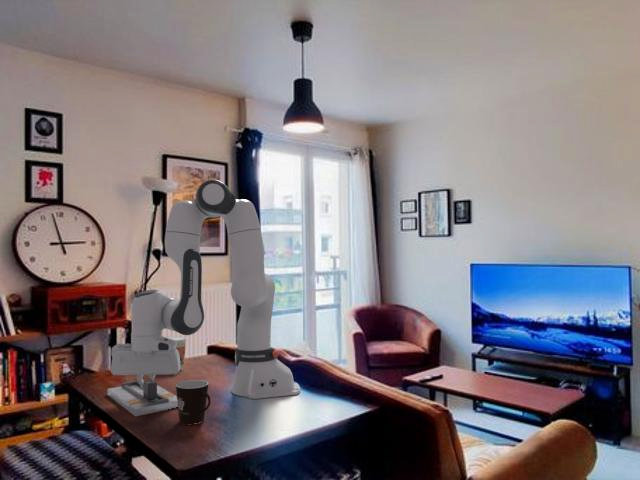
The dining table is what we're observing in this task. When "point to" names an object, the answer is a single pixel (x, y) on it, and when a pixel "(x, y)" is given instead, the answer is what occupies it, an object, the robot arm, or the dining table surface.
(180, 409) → the coffee mug
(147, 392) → the fader knob
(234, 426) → the dining table surface
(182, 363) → the coffee cup
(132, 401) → the console
